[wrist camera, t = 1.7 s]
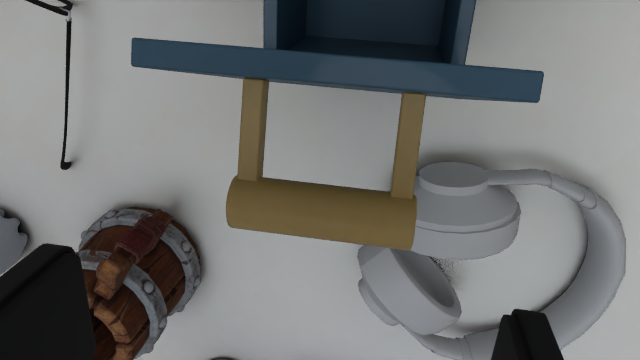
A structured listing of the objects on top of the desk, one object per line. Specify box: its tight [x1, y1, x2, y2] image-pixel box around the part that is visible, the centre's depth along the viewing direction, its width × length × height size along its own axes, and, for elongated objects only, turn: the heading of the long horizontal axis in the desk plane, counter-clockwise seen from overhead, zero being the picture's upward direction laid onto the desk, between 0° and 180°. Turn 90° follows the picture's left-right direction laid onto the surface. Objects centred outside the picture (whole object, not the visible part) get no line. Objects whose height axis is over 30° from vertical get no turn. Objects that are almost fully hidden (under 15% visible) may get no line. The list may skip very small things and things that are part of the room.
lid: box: [131, 38, 544, 250], centre depth 21 cm, size 14×11×6 cm
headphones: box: [358, 162, 626, 360], centre depth 39 cm, size 18×8×20 cm
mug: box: [75, 207, 200, 360], centre depth 42 cm, size 12×14×15 cm
